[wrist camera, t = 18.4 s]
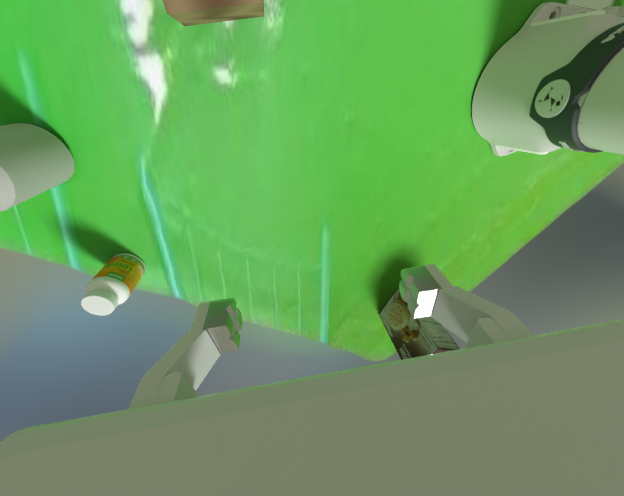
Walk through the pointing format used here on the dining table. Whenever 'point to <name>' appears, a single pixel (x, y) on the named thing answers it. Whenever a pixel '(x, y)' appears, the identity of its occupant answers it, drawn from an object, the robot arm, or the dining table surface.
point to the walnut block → (212, 10)
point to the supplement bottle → (113, 284)
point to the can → (30, 163)
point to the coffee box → (414, 331)
